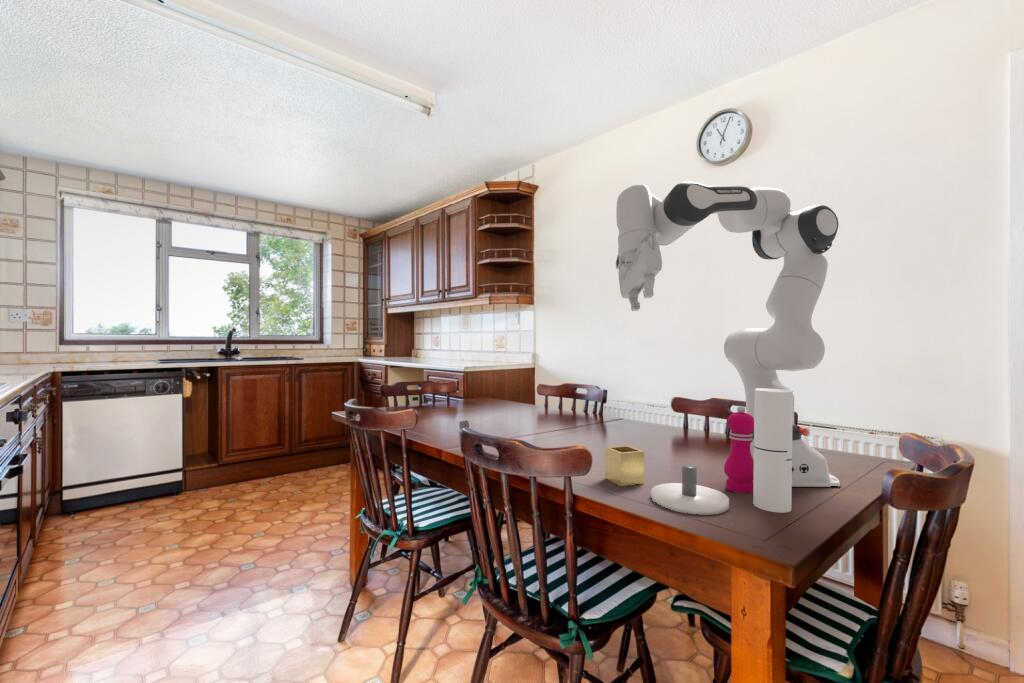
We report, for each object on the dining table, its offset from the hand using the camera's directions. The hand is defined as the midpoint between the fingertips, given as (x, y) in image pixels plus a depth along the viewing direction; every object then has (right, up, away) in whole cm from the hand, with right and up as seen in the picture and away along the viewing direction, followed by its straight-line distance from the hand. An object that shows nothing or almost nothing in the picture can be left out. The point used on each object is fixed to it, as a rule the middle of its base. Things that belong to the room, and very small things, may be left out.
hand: (642, 304), depth 108 cm
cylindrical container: (+25, -44, -9) cm, 52 cm away
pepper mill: (+24, -44, +3) cm, 51 cm away
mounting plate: (+9, -44, -6) cm, 45 cm away
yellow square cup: (-2, -44, +8) cm, 45 cm away
